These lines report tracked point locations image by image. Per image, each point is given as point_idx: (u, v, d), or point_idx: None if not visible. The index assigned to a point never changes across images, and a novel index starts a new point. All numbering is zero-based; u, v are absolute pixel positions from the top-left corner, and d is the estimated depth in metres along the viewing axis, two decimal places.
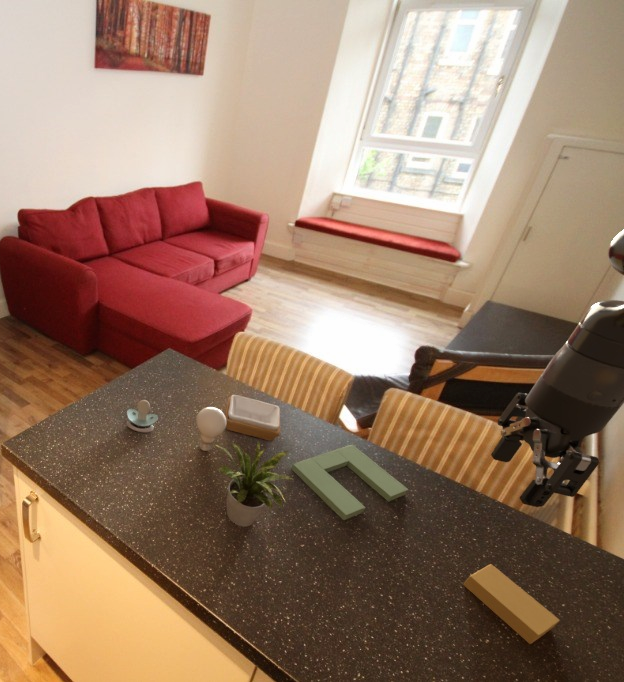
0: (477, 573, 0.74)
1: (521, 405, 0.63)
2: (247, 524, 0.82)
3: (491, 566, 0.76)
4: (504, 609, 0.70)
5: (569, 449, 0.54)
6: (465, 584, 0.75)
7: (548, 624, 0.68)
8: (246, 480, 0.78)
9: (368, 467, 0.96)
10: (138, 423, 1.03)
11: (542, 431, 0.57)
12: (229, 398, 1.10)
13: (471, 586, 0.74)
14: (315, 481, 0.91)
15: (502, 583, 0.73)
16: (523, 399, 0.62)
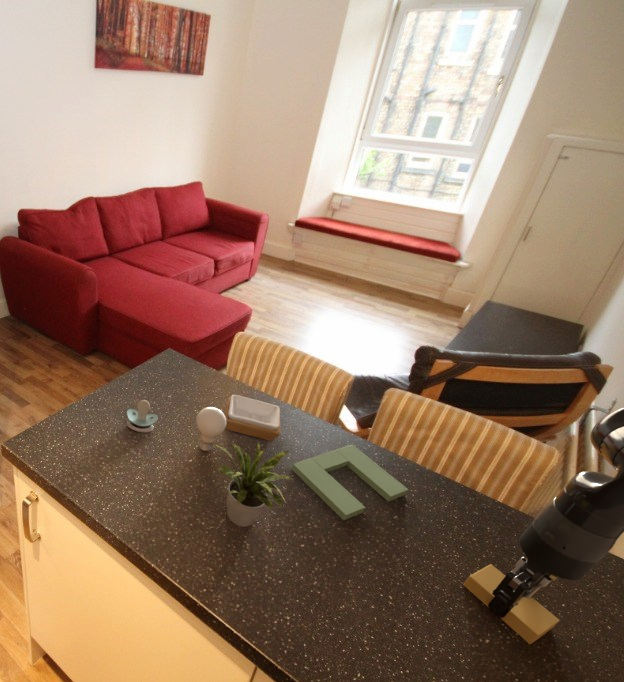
0: (477, 573, 0.74)
1: None
2: (247, 524, 0.82)
3: (491, 566, 0.76)
4: None
5: None
6: (465, 584, 0.75)
7: (548, 624, 0.68)
8: (246, 480, 0.78)
9: (368, 467, 0.96)
10: (138, 423, 1.03)
11: (523, 559, 0.68)
12: (229, 398, 1.10)
13: (471, 586, 0.74)
14: (315, 481, 0.91)
15: None
16: None
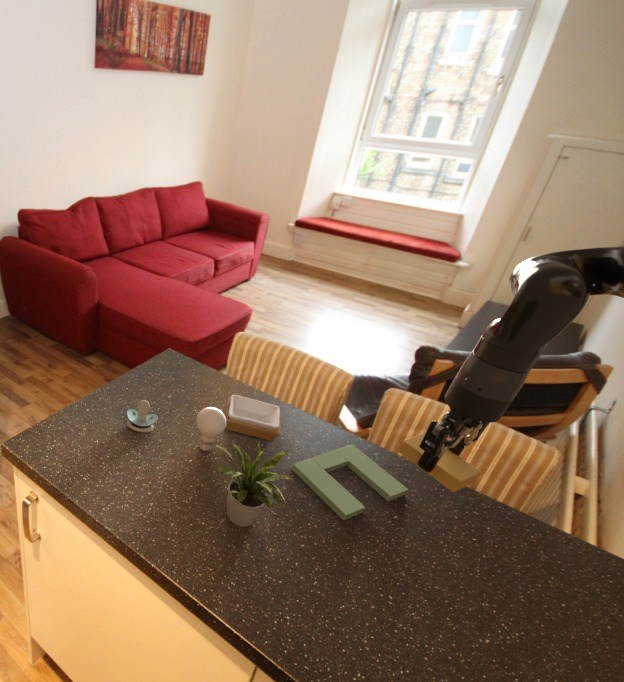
0: (410, 439, 0.79)
1: None
2: (247, 524, 0.82)
3: (424, 434, 0.80)
4: None
5: None
6: (399, 449, 0.79)
7: (470, 474, 0.72)
8: (246, 480, 0.78)
9: (368, 467, 0.96)
10: (138, 423, 1.03)
11: (448, 414, 0.72)
12: (229, 398, 1.10)
13: (404, 450, 0.78)
14: (315, 481, 0.91)
15: None
16: None
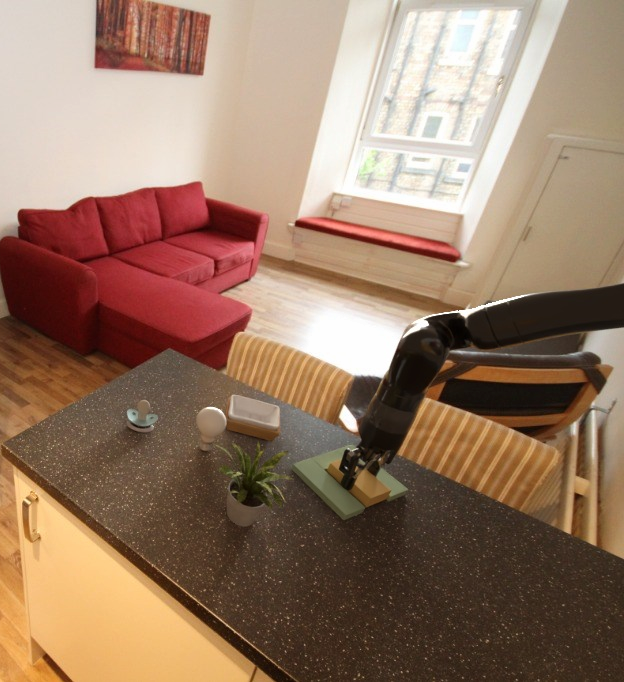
0: (336, 461, 0.94)
1: None
2: (247, 524, 0.82)
3: None
4: None
5: None
6: (327, 470, 0.94)
7: (381, 492, 0.87)
8: (246, 480, 0.78)
9: None
10: (138, 423, 1.03)
11: None
12: (229, 398, 1.10)
13: (331, 471, 0.93)
14: (315, 481, 0.91)
15: None
16: None
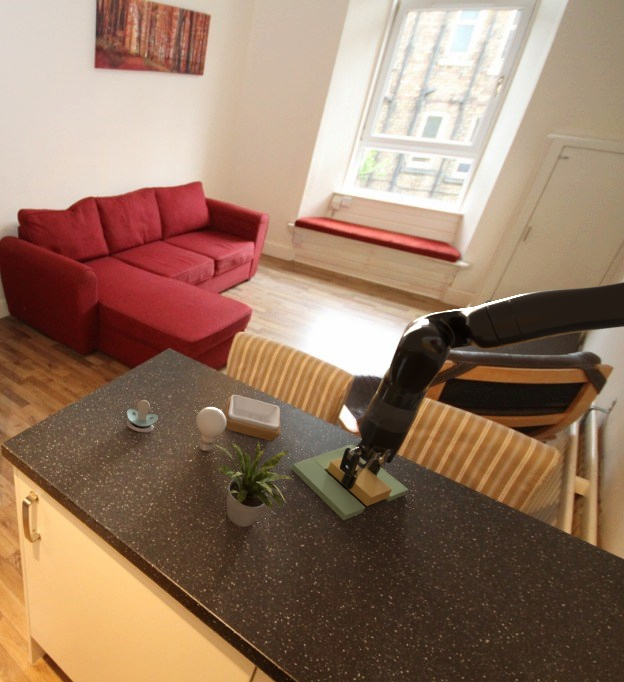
0: (337, 460, 0.94)
1: None
2: (247, 524, 0.82)
3: None
4: None
5: None
6: (328, 469, 0.94)
7: (381, 491, 0.87)
8: (246, 480, 0.78)
9: None
10: (138, 423, 1.03)
11: None
12: (229, 398, 1.10)
13: (331, 470, 0.93)
14: (315, 481, 0.91)
15: None
16: None
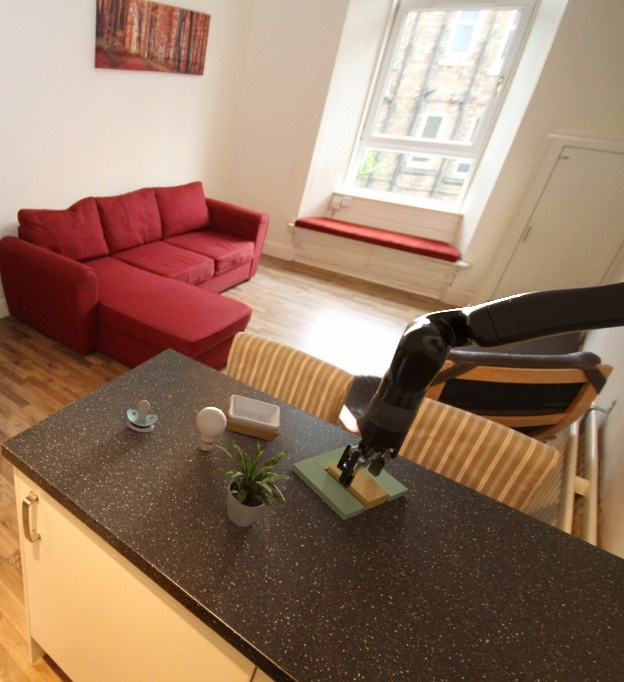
0: (335, 464, 0.94)
1: None
2: (247, 524, 0.82)
3: None
4: (349, 487, 0.90)
5: None
6: None
7: (379, 495, 0.88)
8: (246, 480, 0.78)
9: (368, 467, 0.96)
10: (138, 423, 1.03)
11: None
12: (229, 398, 1.10)
13: (329, 474, 0.94)
14: (315, 481, 0.91)
15: None
16: None
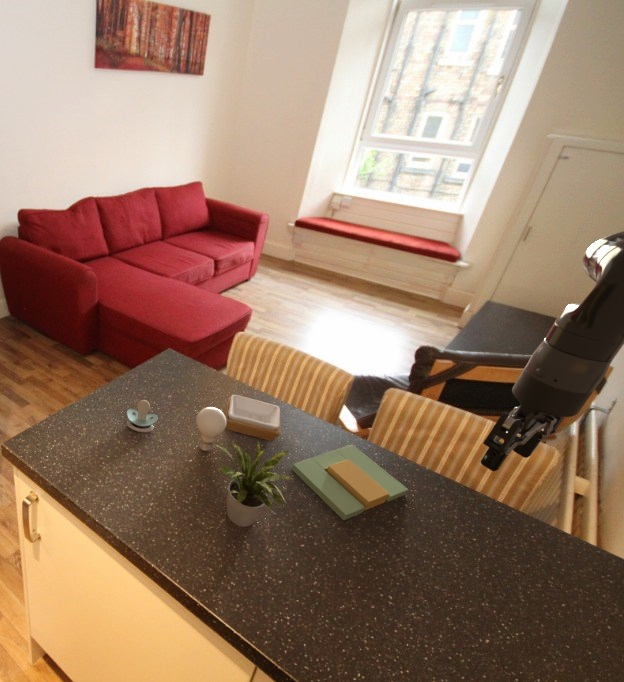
0: (335, 464, 0.94)
1: None
2: (247, 524, 0.82)
3: (348, 460, 0.96)
4: (349, 487, 0.90)
5: None
6: None
7: (379, 495, 0.88)
8: (246, 480, 0.78)
9: (368, 467, 0.96)
10: (138, 423, 1.03)
11: None
12: (229, 398, 1.10)
13: (329, 474, 0.94)
14: (315, 481, 0.91)
15: (353, 470, 0.93)
16: None
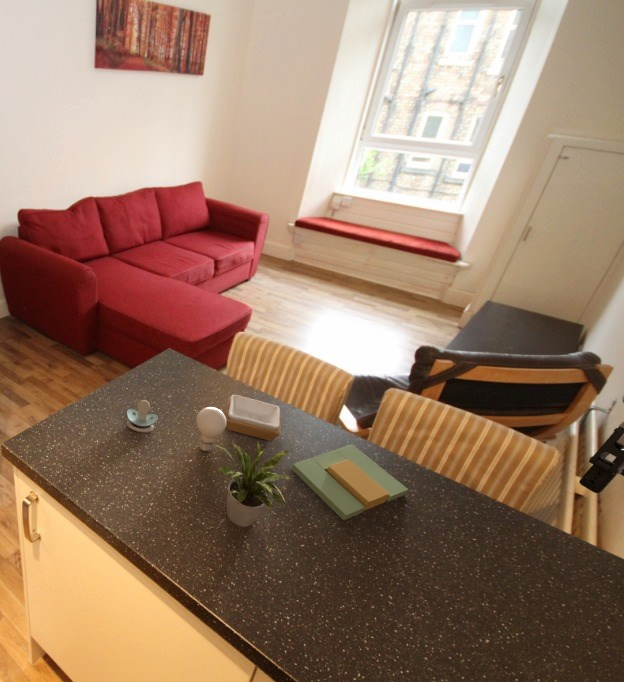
0: (335, 464, 0.94)
1: None
2: (247, 524, 0.82)
3: (348, 460, 0.96)
4: (349, 487, 0.90)
5: None
6: None
7: (379, 495, 0.88)
8: (246, 480, 0.78)
9: (368, 467, 0.96)
10: (138, 423, 1.03)
11: None
12: (229, 398, 1.10)
13: (329, 474, 0.94)
14: (315, 481, 0.91)
15: (353, 470, 0.93)
16: None
